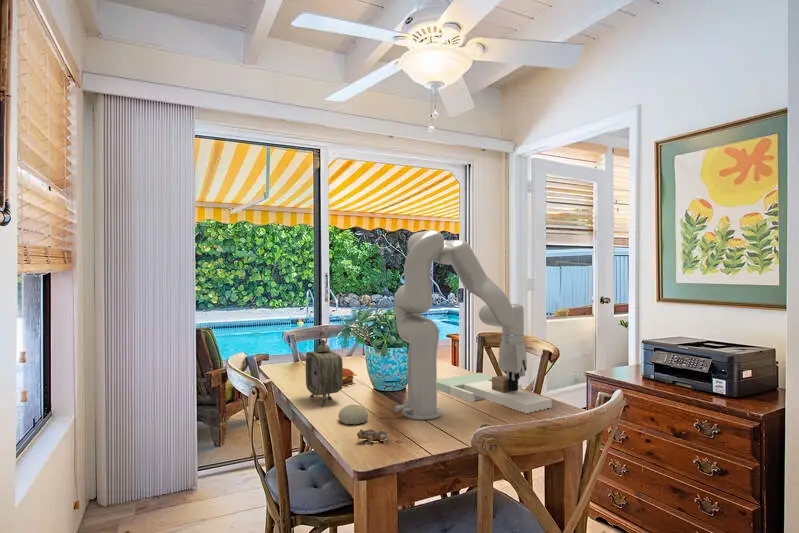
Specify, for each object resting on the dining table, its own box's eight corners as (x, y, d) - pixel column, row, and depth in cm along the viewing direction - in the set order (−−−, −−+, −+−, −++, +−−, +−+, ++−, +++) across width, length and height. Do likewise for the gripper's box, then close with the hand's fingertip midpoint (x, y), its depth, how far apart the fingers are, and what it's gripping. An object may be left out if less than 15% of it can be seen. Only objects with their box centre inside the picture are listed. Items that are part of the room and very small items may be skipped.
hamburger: (340, 381, 206) (340, 365, 206) (358, 384, 201) (358, 368, 201) (325, 385, 198) (325, 369, 198) (343, 389, 193) (343, 372, 193)
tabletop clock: (305, 398, 179) (305, 330, 179) (329, 395, 184) (328, 328, 184) (319, 408, 167) (319, 335, 166) (344, 404, 171) (343, 333, 171)
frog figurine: (365, 453, 129) (365, 438, 129) (347, 438, 139) (347, 425, 139) (403, 445, 134) (403, 431, 134) (383, 432, 145) (383, 419, 145)
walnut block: (503, 393, 174) (503, 380, 174) (491, 389, 180) (491, 377, 180) (515, 390, 178) (515, 378, 178) (504, 387, 183) (504, 375, 183)
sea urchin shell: (342, 422, 147) (338, 398, 152) (339, 434, 152) (336, 411, 158) (371, 419, 149) (367, 396, 155) (367, 431, 155) (363, 408, 160)
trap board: (512, 417, 157) (512, 407, 157) (431, 387, 194) (431, 380, 194) (564, 404, 170) (564, 396, 170) (479, 379, 207) (479, 372, 207)
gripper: (490, 337, 178) (490, 387, 178) (520, 342, 165) (520, 397, 165) (505, 335, 182) (506, 384, 182) (536, 340, 169) (536, 393, 169)
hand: (513, 390), depth 174 cm, fingers closed
